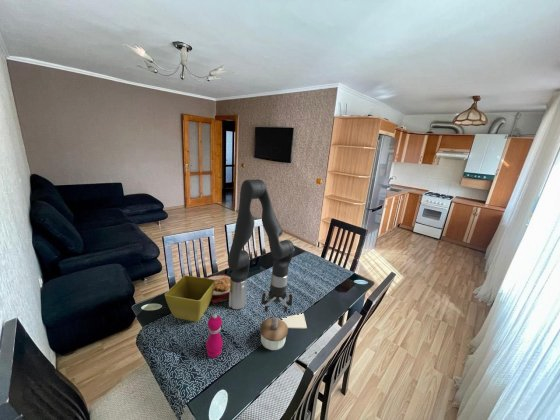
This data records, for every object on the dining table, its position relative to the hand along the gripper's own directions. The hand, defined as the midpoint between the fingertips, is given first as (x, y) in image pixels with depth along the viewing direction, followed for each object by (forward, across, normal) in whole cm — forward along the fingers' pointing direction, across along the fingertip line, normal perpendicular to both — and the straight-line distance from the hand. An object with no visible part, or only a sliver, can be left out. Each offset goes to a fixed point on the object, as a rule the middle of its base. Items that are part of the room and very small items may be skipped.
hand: (275, 311), depth 107 cm
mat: (+17, +11, +15) cm, 25 cm away
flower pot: (+18, -44, +17) cm, 50 cm away
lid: (+10, 0, 0) cm, 11 cm away
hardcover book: (+18, -32, +34) cm, 51 cm away
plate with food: (+20, -27, +33) cm, 47 cm away
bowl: (+16, 0, 0) cm, 17 cm away
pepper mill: (+17, -27, -7) cm, 32 cm away
